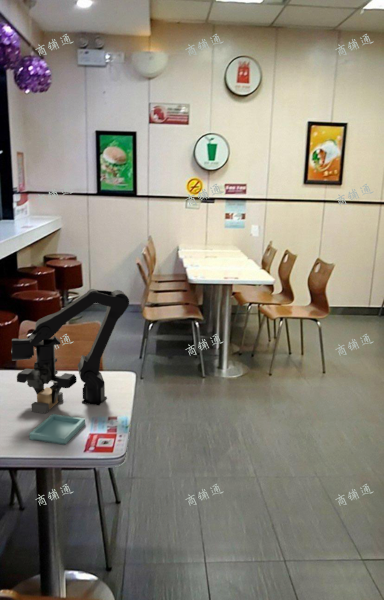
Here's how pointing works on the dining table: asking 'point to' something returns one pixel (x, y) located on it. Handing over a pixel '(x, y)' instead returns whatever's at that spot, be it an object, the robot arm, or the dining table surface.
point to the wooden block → (46, 397)
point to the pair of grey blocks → (44, 405)
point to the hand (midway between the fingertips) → (47, 402)
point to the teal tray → (57, 429)
